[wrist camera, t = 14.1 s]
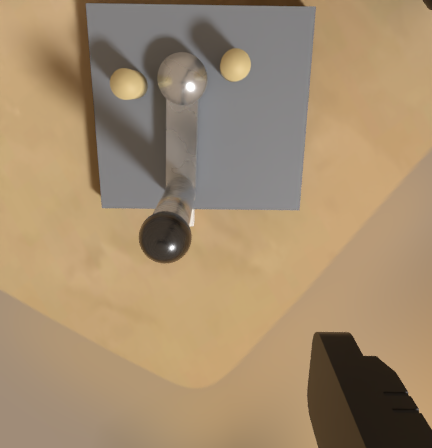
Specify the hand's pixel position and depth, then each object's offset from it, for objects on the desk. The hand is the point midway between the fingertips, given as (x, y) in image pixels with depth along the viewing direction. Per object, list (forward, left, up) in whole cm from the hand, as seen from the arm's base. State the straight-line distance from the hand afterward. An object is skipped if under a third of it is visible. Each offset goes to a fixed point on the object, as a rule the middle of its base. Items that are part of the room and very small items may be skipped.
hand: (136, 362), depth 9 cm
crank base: (-4, +1, -19) cm, 20 cm away
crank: (-3, 0, -17) cm, 18 cm away
